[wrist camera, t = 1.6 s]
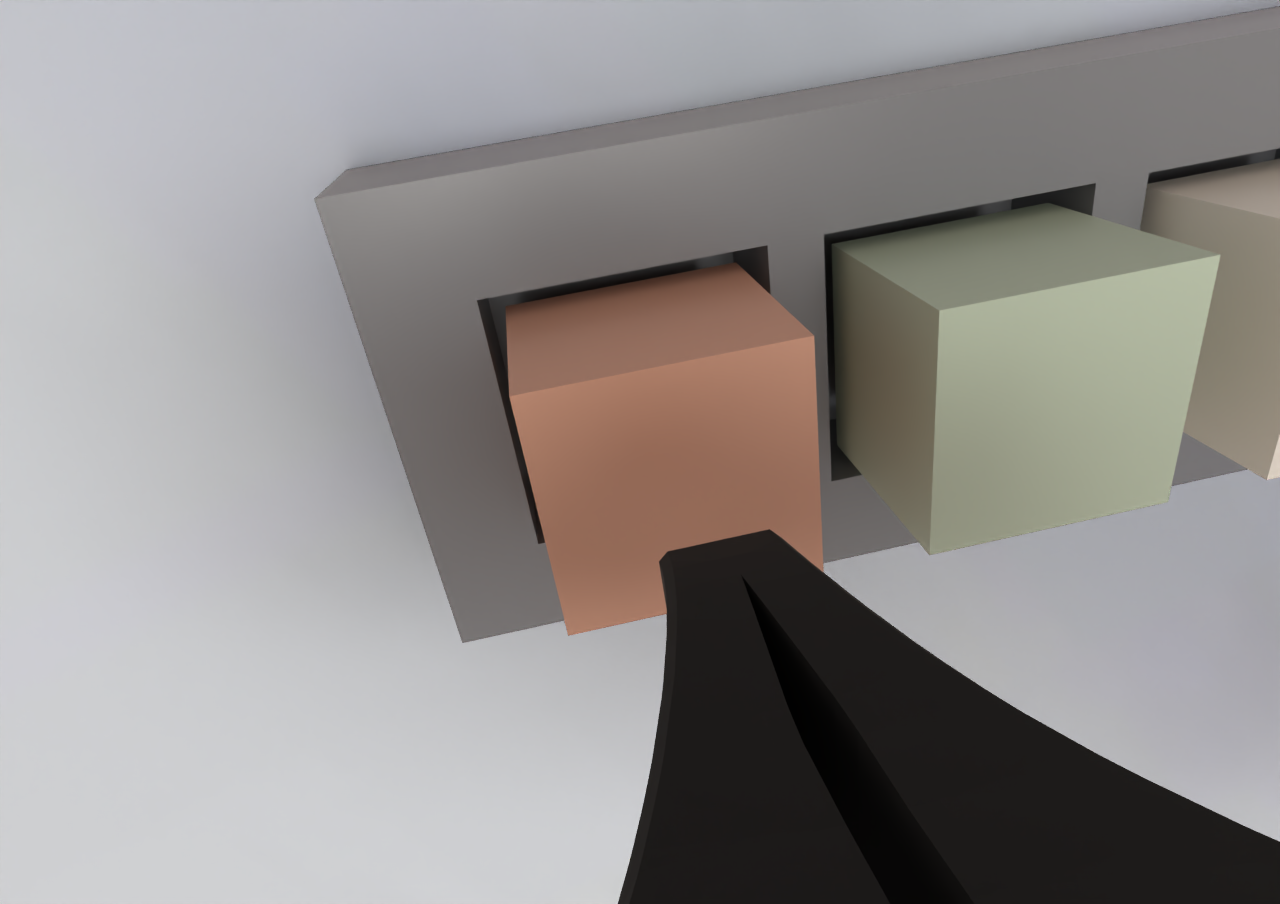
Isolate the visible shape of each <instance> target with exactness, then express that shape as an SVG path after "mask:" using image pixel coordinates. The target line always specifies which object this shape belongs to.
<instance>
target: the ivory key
mask: <svg viewBox="0 0 1280 904" xmlns="http://www.w3.org/2000/svg"><path fill="white" fill-rule="evenodd" d="M1140 231H1144V232H1147V233H1150V234H1154V235H1157V236H1160V237H1163V238H1167V239H1170V240H1173V241H1177V242H1180V243H1183V244H1187V245H1190V246H1193V247H1197V248H1200V249H1203V250H1207V251H1210V252H1213V253H1217V254H1220V255H1221V256H1220V260H1219V265H1218V270H1217V274H1216V279H1215V284H1214V289H1213V293H1212V298H1211V303H1210V307H1209V312H1208V317H1207V321H1206V326H1205V331H1204V335H1203V340H1202V345H1201V350H1200V354H1199V359H1198V364H1197V368H1196V373H1195V378H1194V382H1193V387H1192V392H1191V396H1190V401H1189V406H1188V411H1187V415H1186V420H1185V425H1184V429H1183V432H1184V433H1186V434H1188V435H1189V436H1191V437H1193V438H1195V439H1196V440H1198V441H1200V442H1202V443H1203V444H1205V445H1207V446H1208V447H1210V448H1212V449H1214V450H1215V451H1217V452H1219V453H1221V454H1222V455H1224V456H1226V457H1228V458H1229V459H1231V460H1233V461H1235V462H1236V463H1238V464H1240V465H1242V466H1243V467H1245V468H1247V469H1248V470H1250V471H1252V472H1254V473H1255V474H1257V475H1259V476H1261V477H1262V478H1264V479H1266V480H1269V479H1274V478H1278V477H1280V159H1275V160H1270V161H1265V162H1260V163H1254V164H1249V165H1244V166H1239V167H1233V168H1228V169H1223V170H1218V171H1212V172H1207V173H1202V174H1197V175H1191V176H1186V177H1181V178H1176V179H1170V180H1165V181H1160V182H1155V183H1149V184H1147V189H1146V195H1145V201H1144V207H1143V213H1142V220H1141V226H1140Z"/></svg>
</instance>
